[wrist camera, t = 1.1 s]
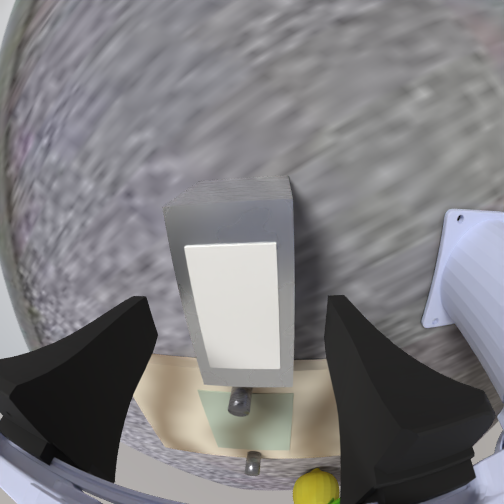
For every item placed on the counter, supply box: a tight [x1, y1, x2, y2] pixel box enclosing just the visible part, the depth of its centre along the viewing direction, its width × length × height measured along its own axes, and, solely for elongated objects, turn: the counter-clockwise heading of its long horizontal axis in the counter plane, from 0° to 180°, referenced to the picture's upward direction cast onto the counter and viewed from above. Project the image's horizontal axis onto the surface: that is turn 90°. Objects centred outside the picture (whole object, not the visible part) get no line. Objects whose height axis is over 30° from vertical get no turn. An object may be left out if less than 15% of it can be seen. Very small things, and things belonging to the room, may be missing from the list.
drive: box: [162, 176, 295, 387], centre depth 13 cm, size 4×9×5 cm, turn 4°
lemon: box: [293, 468, 340, 504], centre depth 22 cm, size 7×6×10 cm
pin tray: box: [133, 354, 341, 476], centre depth 20 cm, size 20×15×4 cm
